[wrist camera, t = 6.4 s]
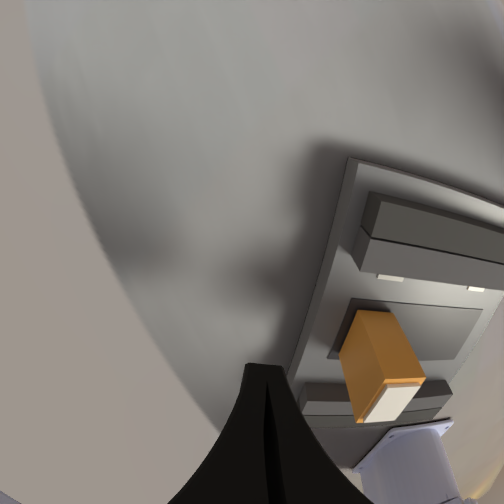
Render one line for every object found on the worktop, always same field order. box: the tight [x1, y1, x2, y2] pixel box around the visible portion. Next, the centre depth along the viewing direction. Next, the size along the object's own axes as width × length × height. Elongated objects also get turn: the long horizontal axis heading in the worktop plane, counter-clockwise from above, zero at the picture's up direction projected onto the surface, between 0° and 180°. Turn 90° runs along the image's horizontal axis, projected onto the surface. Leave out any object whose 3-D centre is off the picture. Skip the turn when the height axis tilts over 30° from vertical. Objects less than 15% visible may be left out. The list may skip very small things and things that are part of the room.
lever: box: [339, 310, 426, 423], centre depth 12 cm, size 3×2×5 cm, turn 172°
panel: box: [286, 157, 504, 402], centre depth 15 cm, size 16×12×2 cm
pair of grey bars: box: [297, 191, 504, 428], centre depth 14 cm, size 14×11×1 cm
